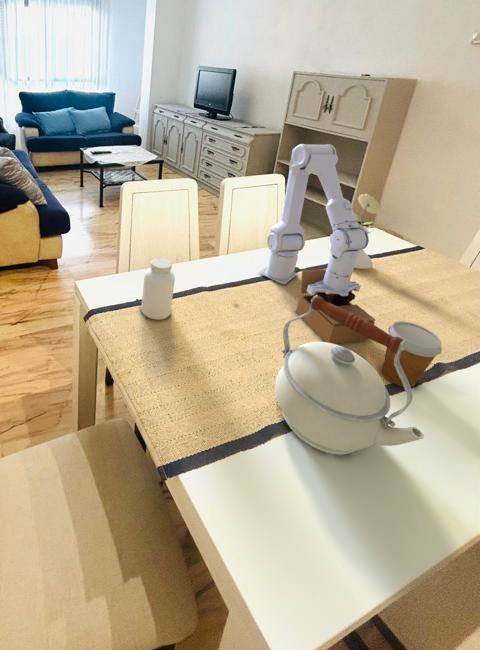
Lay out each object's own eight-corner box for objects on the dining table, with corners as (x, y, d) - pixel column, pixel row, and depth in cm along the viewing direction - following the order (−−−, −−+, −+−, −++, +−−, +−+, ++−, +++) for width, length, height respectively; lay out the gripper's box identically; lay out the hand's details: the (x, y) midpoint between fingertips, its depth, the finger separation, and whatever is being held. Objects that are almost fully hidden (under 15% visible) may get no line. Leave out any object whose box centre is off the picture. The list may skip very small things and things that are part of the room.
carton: (295, 312, 107) (300, 293, 105) (332, 308, 110) (338, 289, 107) (327, 344, 95) (334, 324, 93) (368, 339, 98) (376, 319, 96)
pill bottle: (174, 307, 106) (180, 260, 100) (164, 324, 99) (171, 274, 94) (147, 299, 109) (152, 252, 103) (136, 314, 102) (140, 266, 96)
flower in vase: (378, 273, 130) (402, 204, 121) (345, 271, 130) (366, 202, 120) (356, 254, 142) (377, 190, 133) (326, 252, 142) (344, 189, 133)
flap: (301, 293, 105) (300, 293, 105) (338, 290, 107) (337, 290, 108) (302, 271, 104) (301, 270, 104) (340, 268, 106) (339, 268, 107)
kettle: (244, 403, 78) (268, 300, 68) (293, 365, 88) (321, 272, 79) (377, 517, 59) (436, 398, 50) (420, 453, 70) (476, 344, 60)
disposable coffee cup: (414, 367, 90) (433, 326, 85) (430, 399, 81) (452, 355, 77) (369, 356, 92) (384, 315, 88) (379, 386, 84) (397, 342, 79)
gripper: (325, 281, 94) (312, 326, 99) (375, 277, 97) (359, 321, 102) (307, 266, 100) (295, 309, 105) (354, 263, 103) (340, 305, 108)
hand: (325, 313), depth 104 cm, fingers open, 5 cm apart
